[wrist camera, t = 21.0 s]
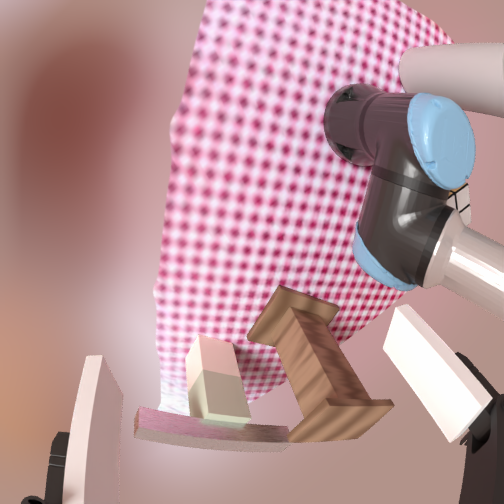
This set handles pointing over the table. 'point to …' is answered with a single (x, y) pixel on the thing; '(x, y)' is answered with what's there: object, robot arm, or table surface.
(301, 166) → the table surface
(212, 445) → the steel bar
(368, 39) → the table surface
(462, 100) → the cylinder vase
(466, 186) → the puzzle cube
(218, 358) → the tower lower
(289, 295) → the walnut stand
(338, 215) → the table surface
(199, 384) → the tower upper
